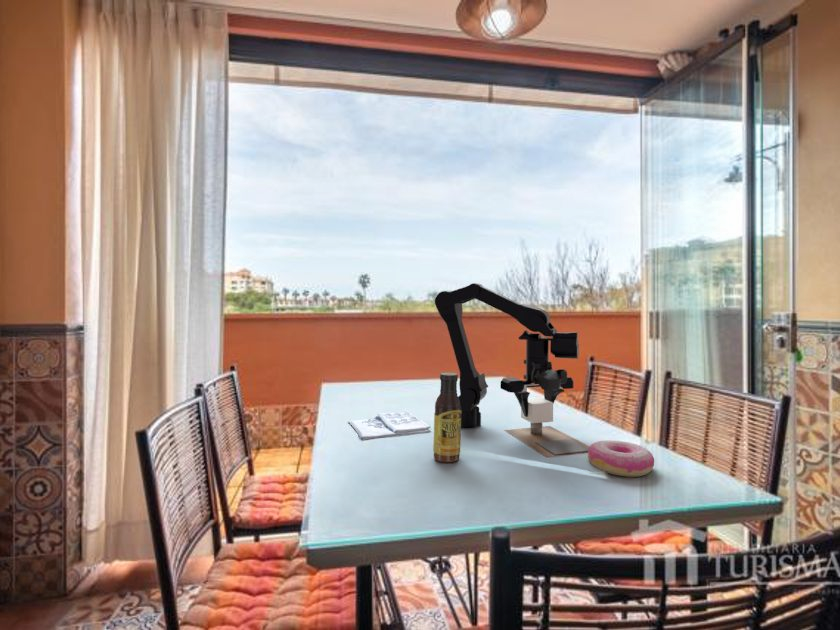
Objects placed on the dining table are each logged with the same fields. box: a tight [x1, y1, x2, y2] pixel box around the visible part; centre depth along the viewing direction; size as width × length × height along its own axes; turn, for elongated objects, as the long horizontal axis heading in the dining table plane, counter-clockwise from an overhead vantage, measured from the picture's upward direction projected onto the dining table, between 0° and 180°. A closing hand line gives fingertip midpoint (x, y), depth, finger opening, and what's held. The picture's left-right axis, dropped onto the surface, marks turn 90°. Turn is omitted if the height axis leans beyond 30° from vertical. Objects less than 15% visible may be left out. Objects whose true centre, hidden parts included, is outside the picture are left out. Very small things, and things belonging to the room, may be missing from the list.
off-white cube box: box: [520, 397, 554, 424], centre depth 126 cm, size 6×6×5 cm
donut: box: [587, 439, 655, 478], centre depth 104 cm, size 14×13×5 cm
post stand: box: [503, 422, 591, 458], centre depth 121 cm, size 14×22×4 cm, turn 16°
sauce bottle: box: [433, 372, 462, 463], centre depth 110 cm, size 7×6×20 cm
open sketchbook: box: [347, 411, 431, 440], centre depth 137 cm, size 19×20×2 cm
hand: (536, 415), depth 126 cm, fingers closed on off-white cube box, 6 cm apart
